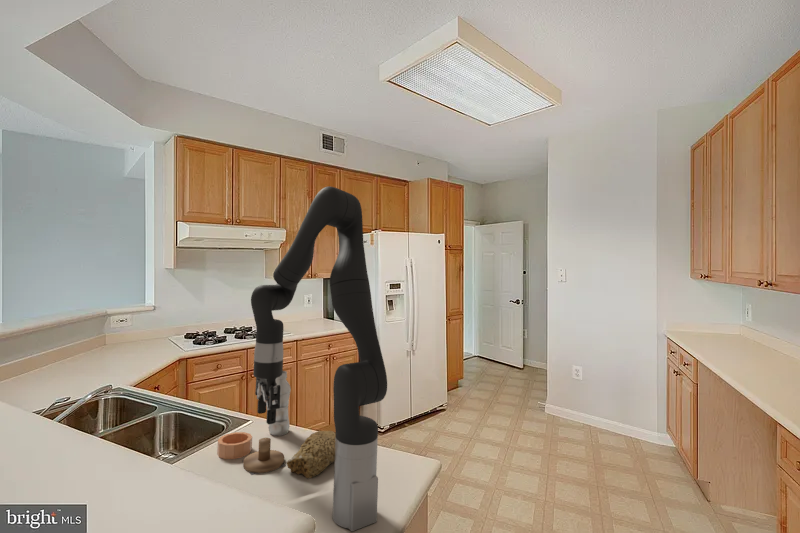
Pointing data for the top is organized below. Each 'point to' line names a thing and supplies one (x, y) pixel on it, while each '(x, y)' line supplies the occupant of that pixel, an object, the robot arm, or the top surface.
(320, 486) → the top surface
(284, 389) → the plastic bottle
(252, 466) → the lid
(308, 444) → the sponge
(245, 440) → the bowl
